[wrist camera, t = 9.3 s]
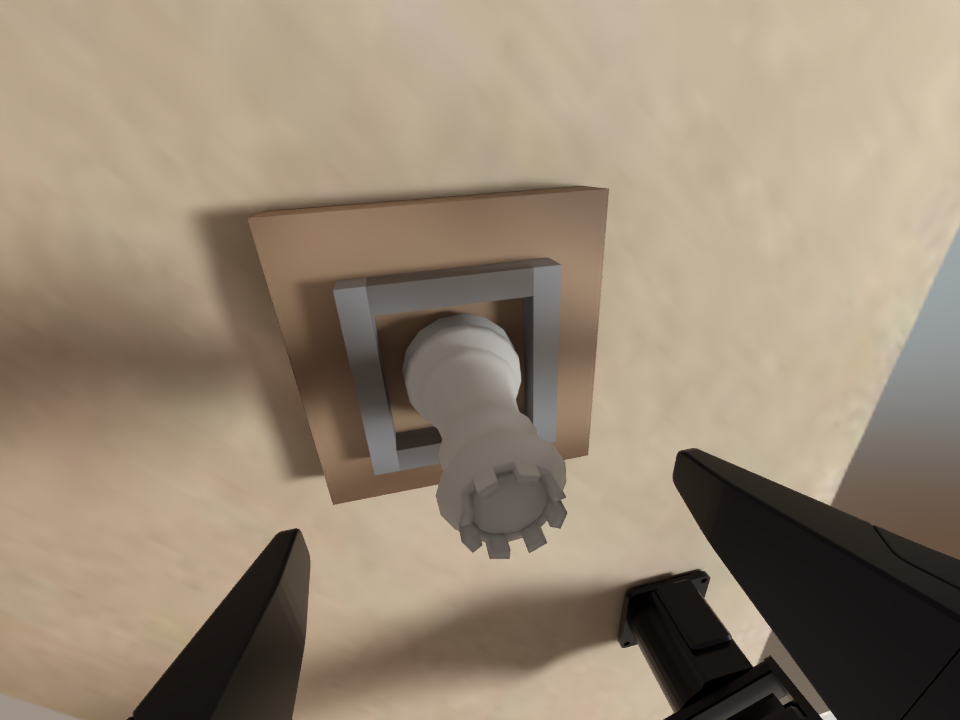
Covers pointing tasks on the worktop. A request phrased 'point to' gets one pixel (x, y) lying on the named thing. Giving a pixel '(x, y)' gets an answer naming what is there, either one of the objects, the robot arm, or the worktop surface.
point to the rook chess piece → (484, 435)
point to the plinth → (432, 316)
